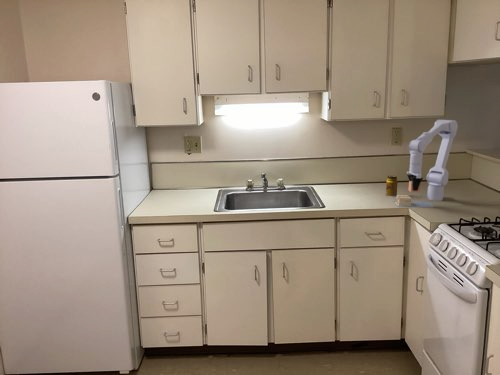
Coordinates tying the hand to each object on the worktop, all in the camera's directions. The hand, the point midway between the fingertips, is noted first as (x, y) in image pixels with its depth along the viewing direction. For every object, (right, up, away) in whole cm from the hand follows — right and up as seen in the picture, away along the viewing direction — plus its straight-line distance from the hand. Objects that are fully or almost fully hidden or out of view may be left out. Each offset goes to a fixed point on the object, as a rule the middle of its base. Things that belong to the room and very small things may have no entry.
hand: (413, 189), depth 219 cm
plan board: (0, -9, +2) cm, 9 cm away
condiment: (-3, -4, +24) cm, 24 cm away
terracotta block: (0, -1, 0) cm, 1 cm away
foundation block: (-5, -8, +3) cm, 9 cm away
